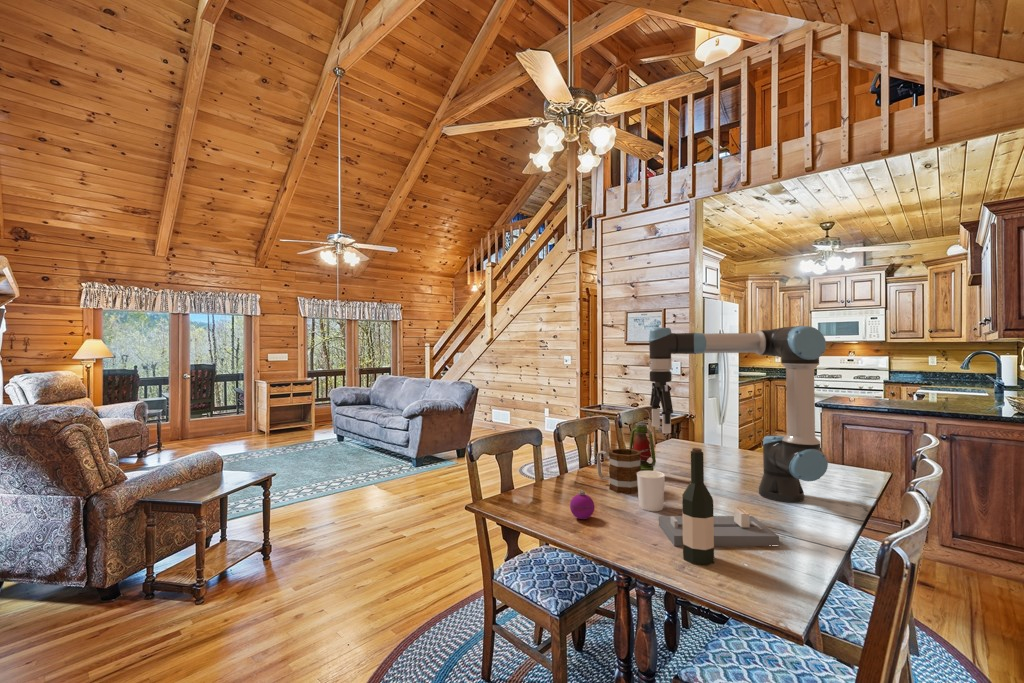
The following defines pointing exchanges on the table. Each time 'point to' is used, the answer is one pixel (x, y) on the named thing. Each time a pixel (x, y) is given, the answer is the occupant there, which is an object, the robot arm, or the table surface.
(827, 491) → the table surface
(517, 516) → the table surface
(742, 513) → the fader
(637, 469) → the mug
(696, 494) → the wine bottle
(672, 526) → the panel
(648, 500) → the candle holder
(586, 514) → the christmas ornament
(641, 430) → the lantern
